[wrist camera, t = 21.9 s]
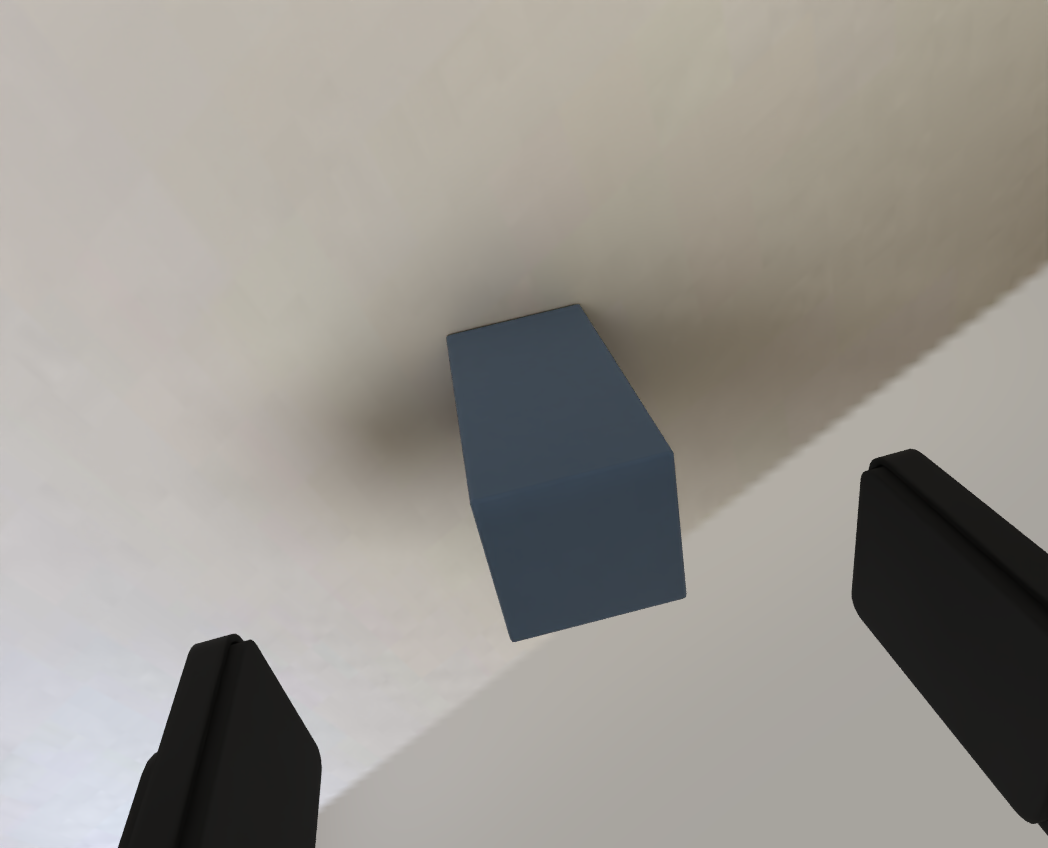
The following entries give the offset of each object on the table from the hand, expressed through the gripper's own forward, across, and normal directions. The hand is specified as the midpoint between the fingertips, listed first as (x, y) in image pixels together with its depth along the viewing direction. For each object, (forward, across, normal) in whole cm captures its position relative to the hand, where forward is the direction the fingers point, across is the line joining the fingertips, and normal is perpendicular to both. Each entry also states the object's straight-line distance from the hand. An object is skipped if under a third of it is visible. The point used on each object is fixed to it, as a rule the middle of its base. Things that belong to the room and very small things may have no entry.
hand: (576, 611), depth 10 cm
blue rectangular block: (+7, -1, 0) cm, 8 cm away
